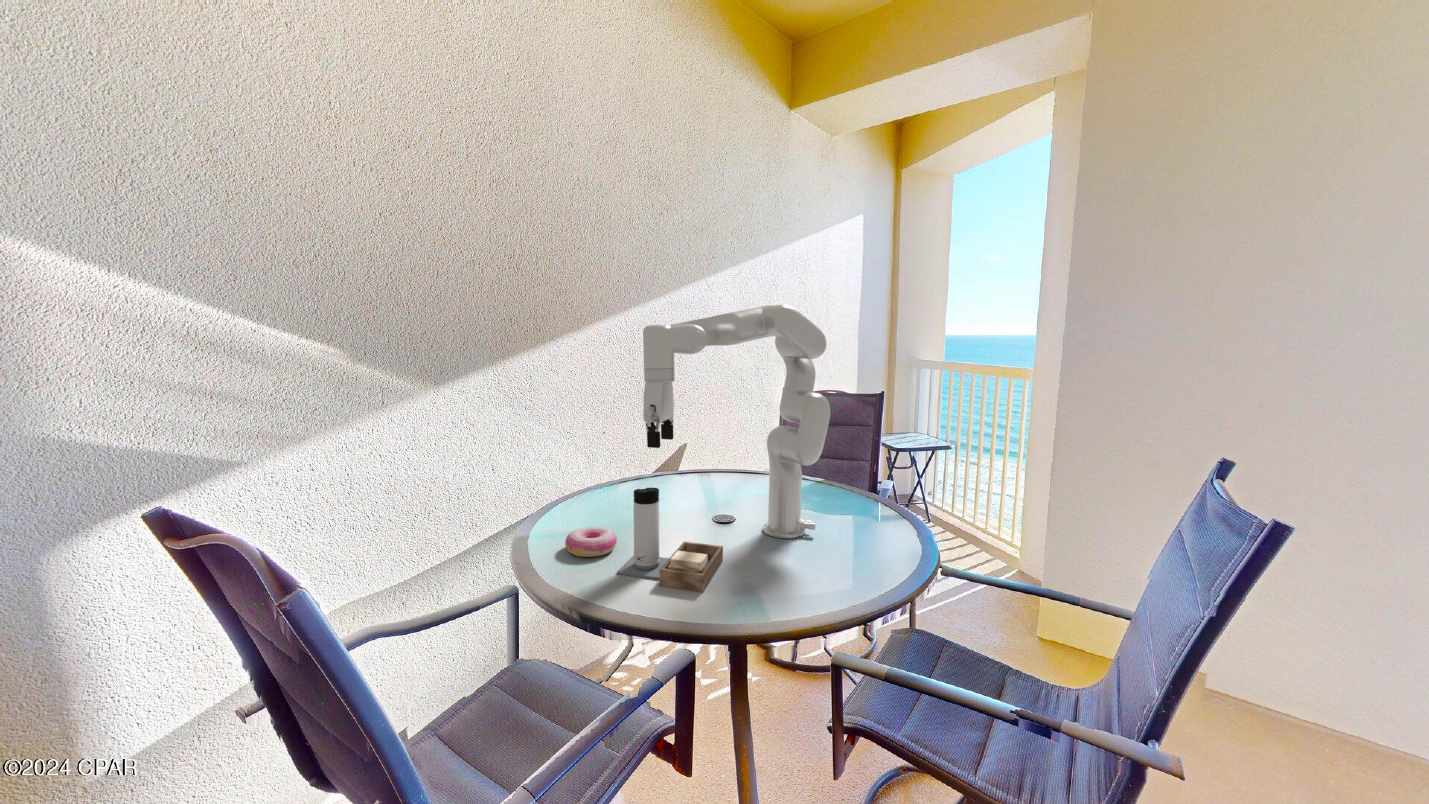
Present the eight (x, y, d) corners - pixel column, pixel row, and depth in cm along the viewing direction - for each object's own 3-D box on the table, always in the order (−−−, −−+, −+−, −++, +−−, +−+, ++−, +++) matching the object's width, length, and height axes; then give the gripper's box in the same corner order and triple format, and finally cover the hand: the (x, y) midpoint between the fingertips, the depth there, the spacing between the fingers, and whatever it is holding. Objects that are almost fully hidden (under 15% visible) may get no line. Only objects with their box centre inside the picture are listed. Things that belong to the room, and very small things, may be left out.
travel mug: (639, 573, 129) (638, 492, 127) (630, 562, 135) (630, 485, 133) (663, 568, 132) (663, 489, 130) (654, 558, 138) (653, 482, 136)
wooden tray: (722, 560, 138) (723, 546, 138) (703, 592, 122) (703, 575, 121) (683, 555, 141) (683, 541, 141) (659, 585, 124) (659, 569, 124)
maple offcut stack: (707, 578, 129) (707, 554, 128) (701, 587, 124) (701, 562, 123) (674, 573, 131) (675, 550, 130) (668, 582, 126) (668, 558, 125)
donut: (621, 556, 141) (621, 538, 140) (569, 564, 136) (569, 545, 135) (611, 538, 153) (611, 521, 152) (563, 544, 148) (562, 527, 147)
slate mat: (674, 561, 138) (674, 559, 138) (659, 579, 127) (659, 577, 127) (635, 556, 141) (635, 553, 141) (616, 573, 130) (616, 571, 130)
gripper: (657, 372, 142) (658, 435, 144) (631, 378, 125) (633, 450, 128) (684, 372, 140) (685, 437, 142) (661, 379, 123) (663, 451, 126)
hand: (660, 443), depth 135 cm, fingers open, 9 cm apart
